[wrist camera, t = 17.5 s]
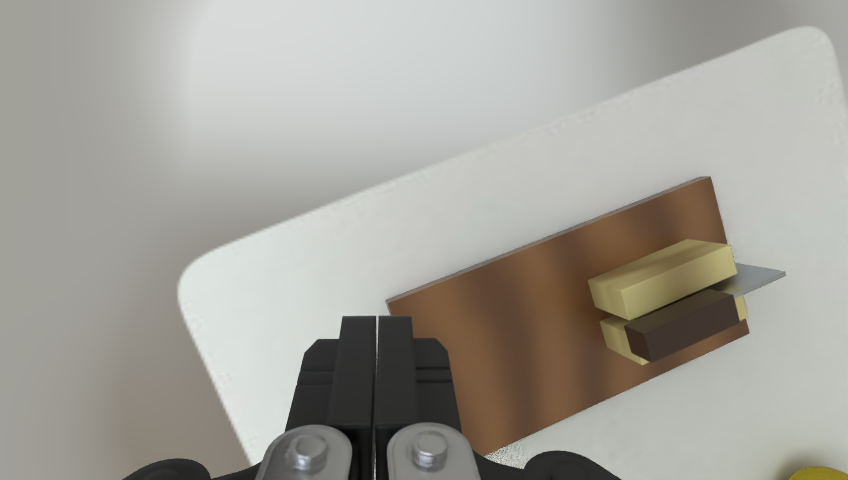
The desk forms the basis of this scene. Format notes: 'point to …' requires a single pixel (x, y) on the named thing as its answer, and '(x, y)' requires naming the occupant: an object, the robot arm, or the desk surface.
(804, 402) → the desk surface
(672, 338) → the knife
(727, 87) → the desk surface
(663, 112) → the desk surface
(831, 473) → the lemon
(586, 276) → the butter board
